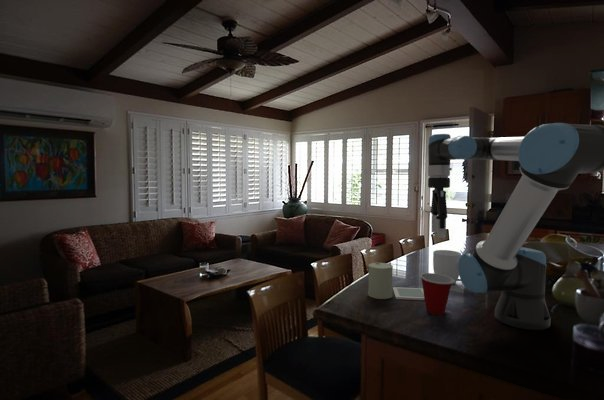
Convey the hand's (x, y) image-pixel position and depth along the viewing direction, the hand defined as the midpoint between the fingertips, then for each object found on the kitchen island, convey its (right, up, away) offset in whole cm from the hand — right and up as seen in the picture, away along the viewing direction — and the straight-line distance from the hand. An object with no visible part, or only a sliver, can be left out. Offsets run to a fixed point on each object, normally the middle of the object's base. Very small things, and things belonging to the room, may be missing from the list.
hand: (438, 234), depth 136 cm
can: (-20, -24, +5) cm, 32 cm away
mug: (+11, -23, +19) cm, 32 cm away
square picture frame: (-9, -23, +5) cm, 26 cm away
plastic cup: (-5, -25, -12) cm, 28 cm away
